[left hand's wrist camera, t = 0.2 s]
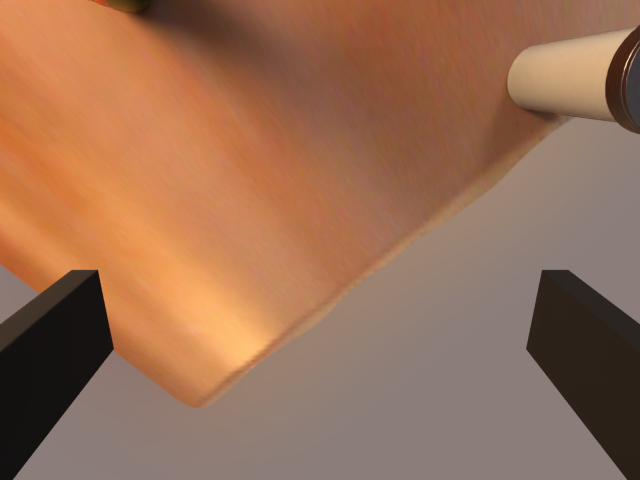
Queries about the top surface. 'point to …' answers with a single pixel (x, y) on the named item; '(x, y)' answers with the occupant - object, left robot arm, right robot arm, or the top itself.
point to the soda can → (125, 5)
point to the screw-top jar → (566, 75)
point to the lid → (625, 83)
